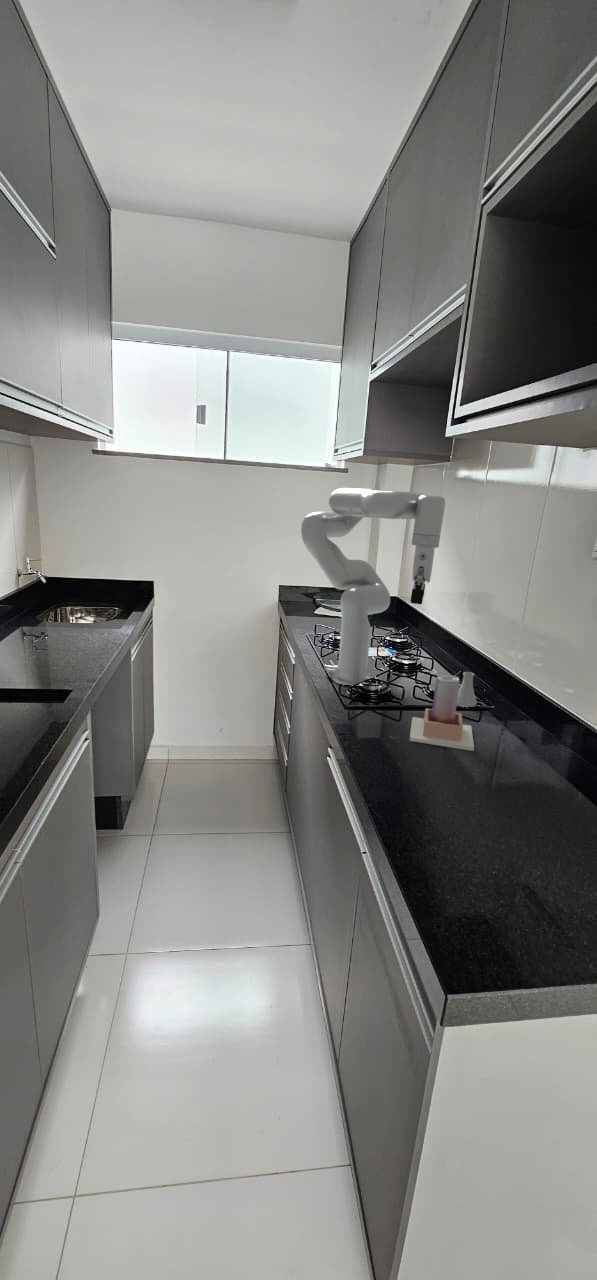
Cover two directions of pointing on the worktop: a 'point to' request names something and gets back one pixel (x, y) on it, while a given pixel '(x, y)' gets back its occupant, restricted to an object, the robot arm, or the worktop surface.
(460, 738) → the socket plate
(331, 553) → the robot arm
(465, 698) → the flask
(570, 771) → the worktop surface
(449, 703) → the beverage can
